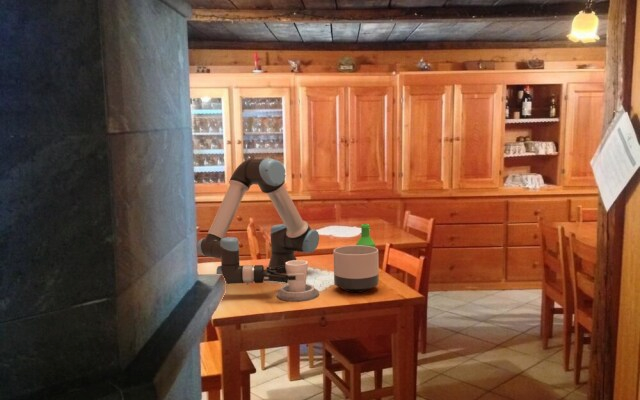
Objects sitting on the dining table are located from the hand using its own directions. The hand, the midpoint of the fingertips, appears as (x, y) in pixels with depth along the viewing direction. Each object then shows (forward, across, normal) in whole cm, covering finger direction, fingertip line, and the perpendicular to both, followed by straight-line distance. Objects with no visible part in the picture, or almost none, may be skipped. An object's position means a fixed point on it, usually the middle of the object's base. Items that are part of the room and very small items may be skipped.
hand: (304, 272), depth 227 cm
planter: (+22, -6, -10) cm, 25 cm away
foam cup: (-3, 0, -9) cm, 9 cm away
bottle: (+28, -28, -10) cm, 41 cm away
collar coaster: (-3, 0, -10) cm, 10 cm away
